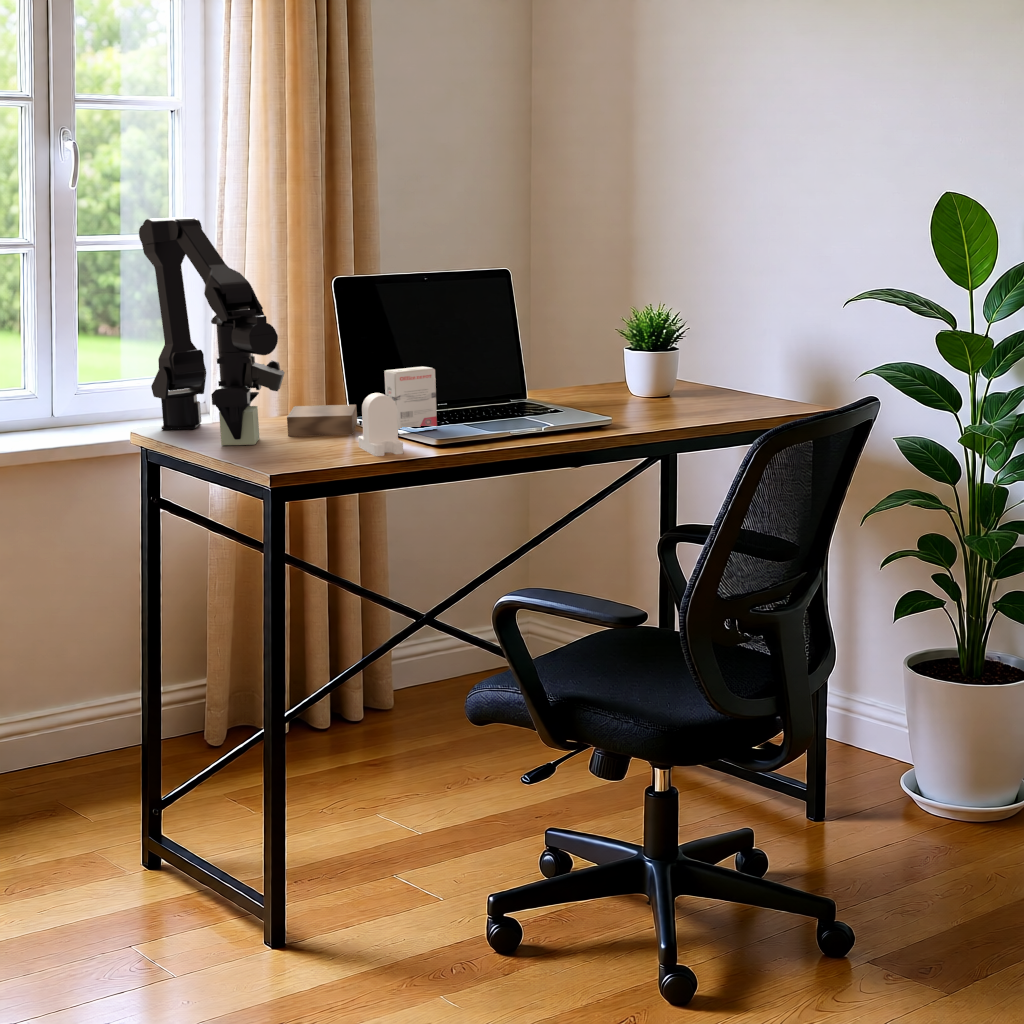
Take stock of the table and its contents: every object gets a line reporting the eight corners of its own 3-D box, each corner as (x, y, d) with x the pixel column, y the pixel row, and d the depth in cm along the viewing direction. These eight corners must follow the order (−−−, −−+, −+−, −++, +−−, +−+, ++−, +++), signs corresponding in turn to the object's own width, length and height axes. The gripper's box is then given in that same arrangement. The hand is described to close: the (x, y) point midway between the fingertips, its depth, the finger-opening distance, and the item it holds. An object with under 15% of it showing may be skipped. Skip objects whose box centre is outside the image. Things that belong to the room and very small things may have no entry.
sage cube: (221, 445, 251) (219, 412, 249) (226, 438, 256) (224, 406, 255) (254, 444, 251) (252, 411, 249) (259, 438, 257) (257, 405, 255)
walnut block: (288, 438, 259) (286, 417, 258) (295, 426, 270) (294, 406, 269) (352, 436, 259) (351, 415, 258) (357, 424, 271) (356, 404, 270)
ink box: (426, 426, 266) (424, 364, 263) (438, 430, 261) (436, 367, 259) (385, 431, 261) (383, 368, 258) (397, 435, 257) (394, 372, 254)
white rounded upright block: (375, 456, 239) (372, 399, 237) (357, 446, 248) (355, 391, 246) (404, 453, 241) (402, 396, 239) (386, 443, 250) (383, 388, 248)
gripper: (272, 356, 241) (278, 445, 244) (285, 342, 259) (290, 425, 263) (208, 358, 240) (214, 446, 244) (225, 344, 258) (231, 426, 262)
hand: (240, 435), depth 253 cm, fingers closed on sage cube, 6 cm apart
